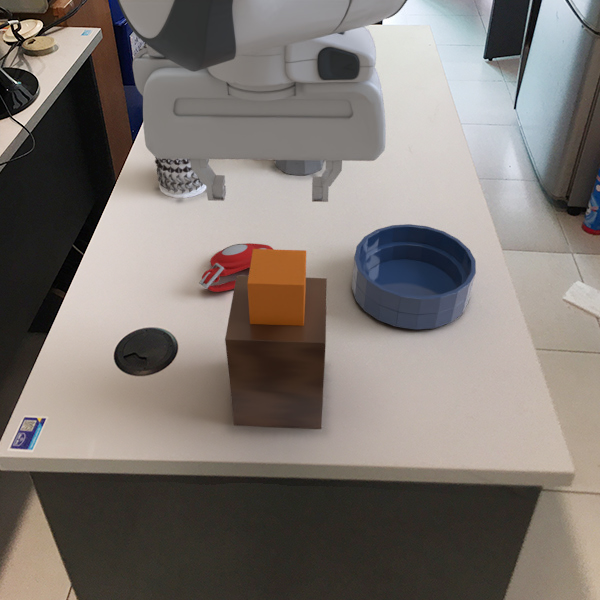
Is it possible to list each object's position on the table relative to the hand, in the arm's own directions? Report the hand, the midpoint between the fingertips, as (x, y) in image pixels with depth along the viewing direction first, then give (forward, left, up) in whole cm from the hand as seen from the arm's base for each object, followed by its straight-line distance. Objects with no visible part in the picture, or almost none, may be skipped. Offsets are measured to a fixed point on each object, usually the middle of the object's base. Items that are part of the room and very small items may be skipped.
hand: (268, 198), depth 58 cm
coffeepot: (+25, -48, -27) cm, 60 cm away
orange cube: (-1, 0, -13) cm, 13 cm away
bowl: (-7, -25, -27) cm, 38 cm away
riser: (-1, 0, -27) cm, 27 cm away
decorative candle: (+38, -32, -27) cm, 56 cm away
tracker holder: (+17, -16, -27) cm, 36 cm away
